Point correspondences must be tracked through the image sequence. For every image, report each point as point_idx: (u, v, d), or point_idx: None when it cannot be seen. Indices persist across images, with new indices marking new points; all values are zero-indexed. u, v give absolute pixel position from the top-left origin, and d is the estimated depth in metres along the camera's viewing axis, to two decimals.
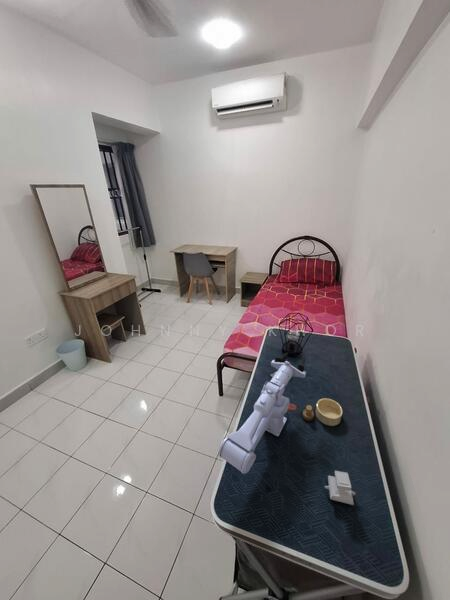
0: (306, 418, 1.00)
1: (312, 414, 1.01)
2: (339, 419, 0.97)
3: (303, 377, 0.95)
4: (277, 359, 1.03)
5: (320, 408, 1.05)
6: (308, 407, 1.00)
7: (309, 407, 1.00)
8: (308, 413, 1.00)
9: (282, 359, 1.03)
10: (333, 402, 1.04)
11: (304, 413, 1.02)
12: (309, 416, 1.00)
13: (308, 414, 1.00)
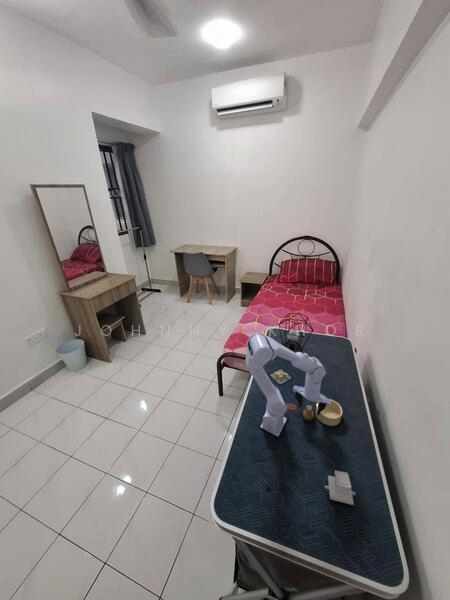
0: (306, 418, 1.00)
1: (312, 414, 1.01)
2: (339, 419, 0.97)
3: (329, 402, 0.92)
4: None
5: None
6: (308, 407, 1.00)
7: (309, 407, 1.00)
8: (308, 413, 1.00)
9: None
10: (333, 402, 1.04)
11: (304, 413, 1.02)
12: (309, 416, 1.00)
13: (308, 414, 1.00)
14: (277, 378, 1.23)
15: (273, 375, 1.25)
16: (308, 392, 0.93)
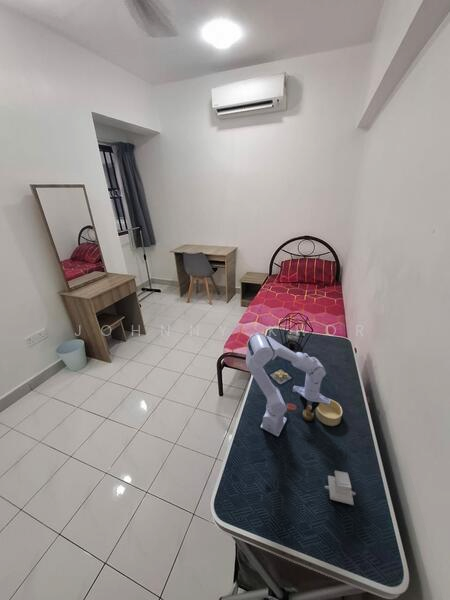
0: (306, 418, 1.00)
1: (312, 414, 1.01)
2: (339, 419, 0.97)
3: (328, 402, 0.92)
4: None
5: (320, 408, 1.05)
6: (308, 407, 1.00)
7: (309, 407, 1.00)
8: (308, 413, 1.00)
9: None
10: (333, 402, 1.04)
11: (304, 413, 1.02)
12: (309, 416, 1.00)
13: (308, 414, 1.00)
14: (277, 378, 1.23)
15: (273, 375, 1.25)
16: (308, 392, 0.94)
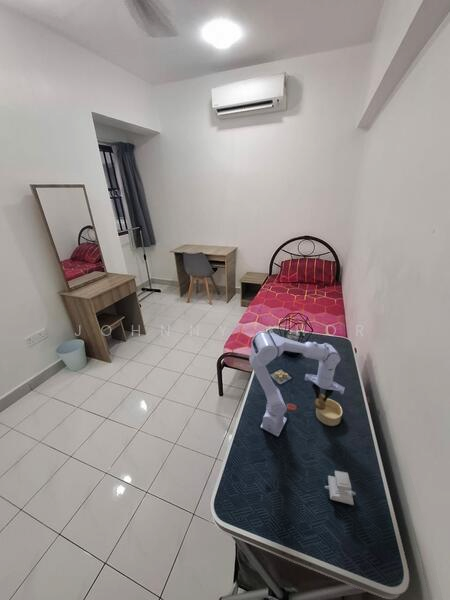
0: (319, 407, 0.98)
1: (325, 403, 0.98)
2: (339, 419, 0.97)
3: (343, 390, 0.90)
4: None
5: None
6: (321, 396, 0.97)
7: (322, 396, 0.97)
8: (321, 402, 0.97)
9: None
10: (333, 402, 1.04)
11: (316, 402, 0.99)
12: (322, 405, 0.97)
13: (321, 403, 0.98)
14: (277, 378, 1.23)
15: (273, 375, 1.25)
16: (321, 380, 0.91)
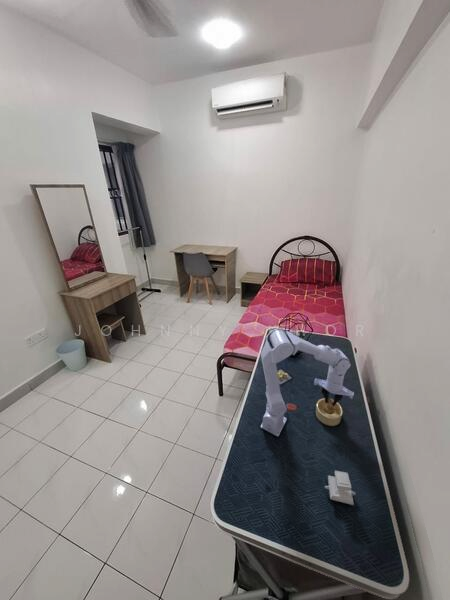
0: (328, 411, 0.99)
1: (333, 407, 0.99)
2: (339, 419, 0.97)
3: (352, 395, 0.91)
4: None
5: (320, 408, 1.05)
6: (330, 400, 0.98)
7: (331, 400, 0.98)
8: (330, 406, 0.99)
9: None
10: None
11: (325, 406, 1.00)
12: (331, 409, 0.99)
13: (330, 407, 0.99)
14: None
15: None
16: (331, 385, 0.92)
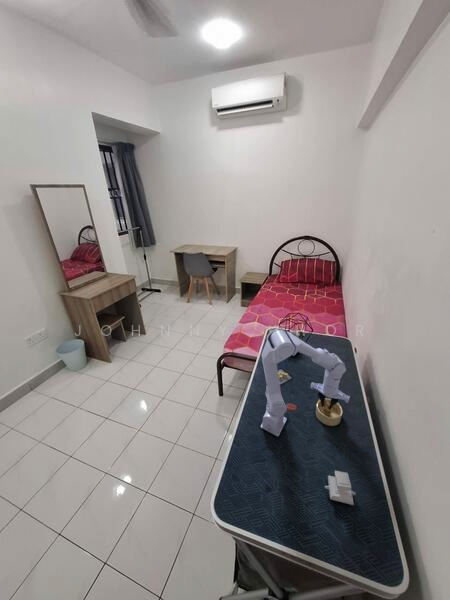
0: None
1: (330, 411, 1.01)
2: (339, 419, 0.97)
3: (348, 399, 0.92)
4: None
5: None
6: (326, 404, 1.00)
7: (327, 404, 1.00)
8: (326, 410, 1.00)
9: None
10: None
11: (322, 410, 1.01)
12: (327, 413, 1.00)
13: (326, 411, 1.00)
14: None
15: None
16: (327, 389, 0.93)
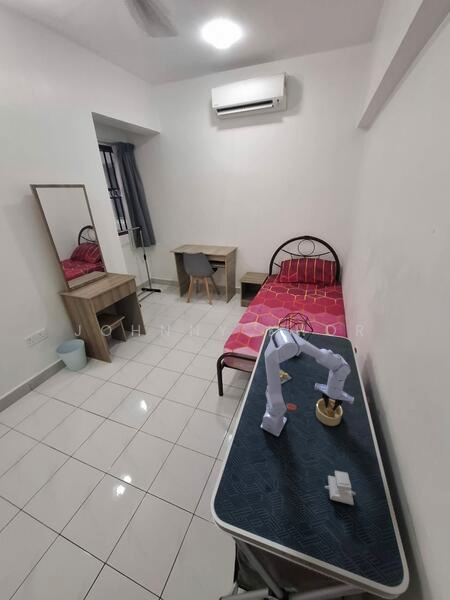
0: (328, 416, 1.00)
1: (334, 412, 1.00)
2: (339, 419, 0.97)
3: (352, 400, 0.92)
4: None
5: (320, 408, 1.05)
6: (330, 405, 0.99)
7: (331, 405, 0.99)
8: (330, 411, 0.99)
9: None
10: (333, 402, 1.04)
11: (325, 411, 1.01)
12: (331, 414, 0.99)
13: (330, 412, 1.00)
14: None
15: None
16: (331, 390, 0.93)
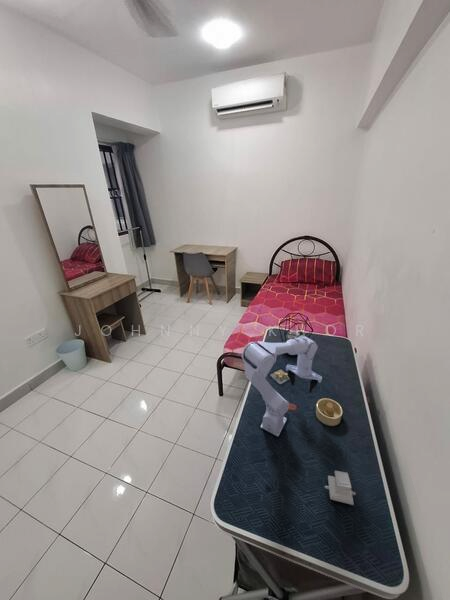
0: None
1: (332, 412, 1.01)
2: (339, 419, 0.97)
3: (320, 379, 0.95)
4: None
5: (320, 408, 1.05)
6: (329, 405, 1.00)
7: (330, 405, 1.00)
8: (329, 411, 1.00)
9: (295, 373, 1.04)
10: (333, 402, 1.04)
11: (324, 411, 1.01)
12: (330, 414, 1.00)
13: (329, 412, 1.00)
14: (277, 378, 1.23)
15: (273, 375, 1.25)
16: (300, 369, 0.96)
